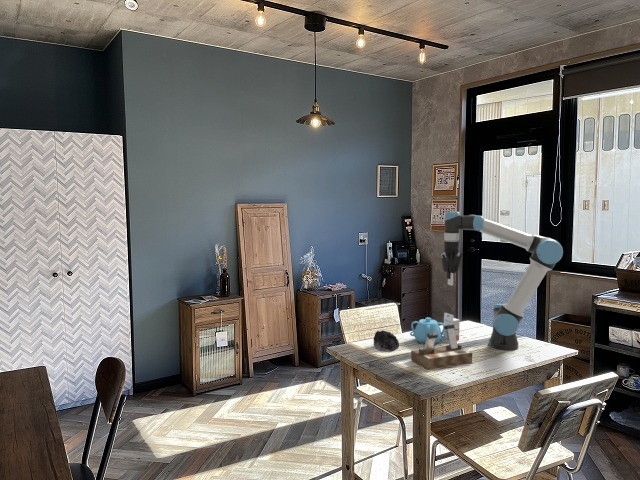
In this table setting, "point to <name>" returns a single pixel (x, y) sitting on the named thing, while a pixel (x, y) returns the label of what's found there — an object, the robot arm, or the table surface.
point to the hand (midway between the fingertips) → (450, 284)
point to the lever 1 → (430, 342)
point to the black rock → (385, 341)
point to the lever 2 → (451, 336)
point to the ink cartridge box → (454, 322)
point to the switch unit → (441, 357)
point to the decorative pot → (427, 330)
